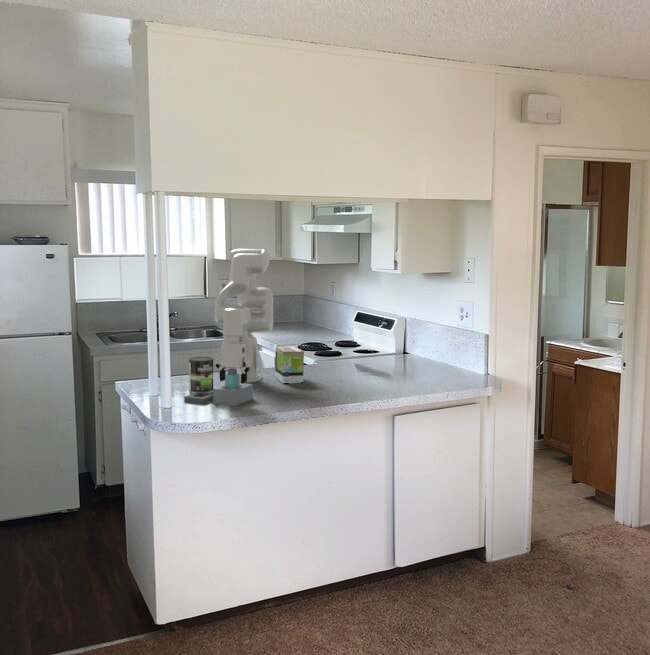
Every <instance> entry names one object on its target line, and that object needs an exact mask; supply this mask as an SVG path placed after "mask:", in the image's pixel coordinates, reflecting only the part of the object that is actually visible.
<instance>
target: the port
mask: <svg viewBox="0 0 650 655" xmlns="http://www.w3.org/2000/svg"><path fill="white" fill-rule="evenodd" d="M212 393H213V401H212V404H213V405H214V404H215V405H221V406H228V407H229V406H230V407H237V406H239V405H242V404H244V403H246V402H249V401H251V400H253V399H254V385H253V383H243V384H242V383H241V382H240V387H238V388H235V389H232V388H225V384H222V385H219V386H216V387H213V392H212ZM248 400H249V401H248Z"/></svg>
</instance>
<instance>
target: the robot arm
mask: <svg viewBox="0 0 650 655" xmlns="http://www.w3.org/2000/svg"><path fill="white" fill-rule="evenodd" d="M229 260H230V264H231V266H230V273H229V282H228V284H227V285H226V286H225V287H224V288H223V289H221V291H220V292H219V293H218V295H217V296H216V299H215V307H214V315H213V316H214V320H215V322H216V323H217V324H218V325H219V324H220V325H223V328H222V329H223V330H222V331H223V333H222V334H223V336H222V337H223V338H222V339H223V342H222V343H221V347H220V356H218V357H216V358H215V359H214V358H213V359H214V360H213V364H214V365H215V367H216V369H217V371H218V372H219V382H223V381H224V382H225V375H227V374H226V370H225V369H226V368H227V369H231V368H233V369H237V373H239V382H240V383H242V384H243V383H246V384H252V383H257V381H258V382H260V381H261V380H262V379H261V376H259V375H258V374H260V373H261V372H262V370H261V368H258V340H257V338H256V337H255V336H254V335H253V334H255V333H260V334H261V333H262V334H263V333H264V334H265V333H271V332H272V331H273V327H274V294H273V291H272V289H271V288H269V287H262V286H261V287H260V286H257V274H264V273H265V272H266V270H268V267H269V266H270V265H269V264H270V253H269V251H268V250H267V249H264V248H263V249H262V248H236V249H233V250H230V252H229ZM236 296H237V305H224V304H225V303H226V302H227V301H228V300H229V299H231V298H234V297H236ZM250 309H261V310H262V311H260V310H259V311H255V310H250ZM251 382H252V383H251Z"/></svg>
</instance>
